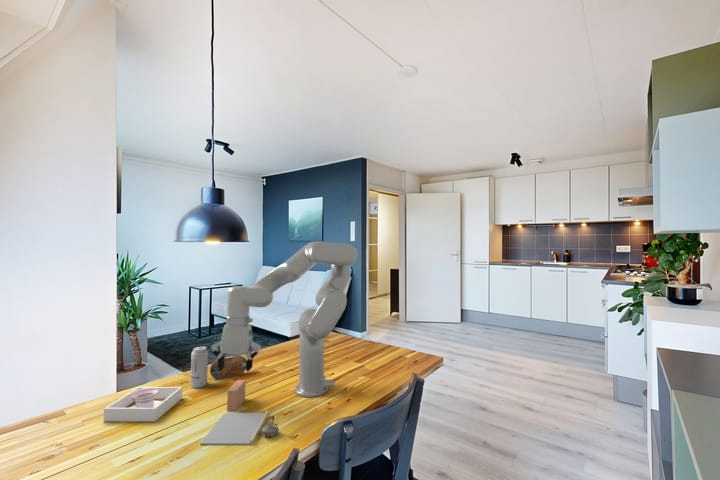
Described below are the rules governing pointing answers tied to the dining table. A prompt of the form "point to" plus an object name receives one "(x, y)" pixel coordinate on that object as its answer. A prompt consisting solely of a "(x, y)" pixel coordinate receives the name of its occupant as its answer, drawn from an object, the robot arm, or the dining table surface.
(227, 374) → the tin
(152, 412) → the rectangular tray
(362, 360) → the dining table surface
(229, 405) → the block
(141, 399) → the teacup
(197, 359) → the energy drink can
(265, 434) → the figurine
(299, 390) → the robot arm
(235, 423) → the mat
